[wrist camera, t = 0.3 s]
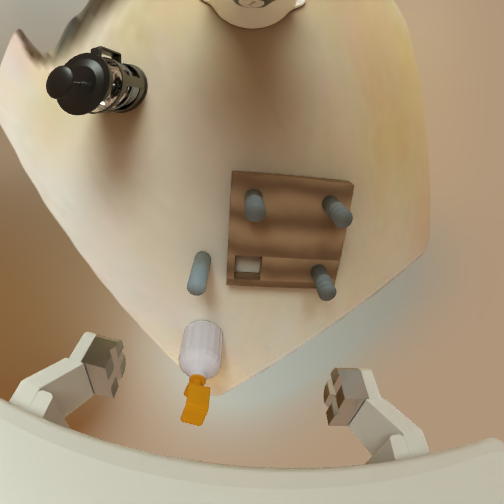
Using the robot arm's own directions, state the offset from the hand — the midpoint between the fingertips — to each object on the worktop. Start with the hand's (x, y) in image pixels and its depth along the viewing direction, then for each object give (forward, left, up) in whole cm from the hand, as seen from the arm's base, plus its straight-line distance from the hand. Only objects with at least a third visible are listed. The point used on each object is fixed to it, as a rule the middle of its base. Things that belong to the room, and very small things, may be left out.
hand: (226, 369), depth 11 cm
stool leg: (+20, -6, -48) cm, 53 cm away
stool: (+13, +10, -48) cm, 51 cm away
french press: (-14, -22, -48) cm, 55 cm away
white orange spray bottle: (+40, -6, -48) cm, 63 cm away
